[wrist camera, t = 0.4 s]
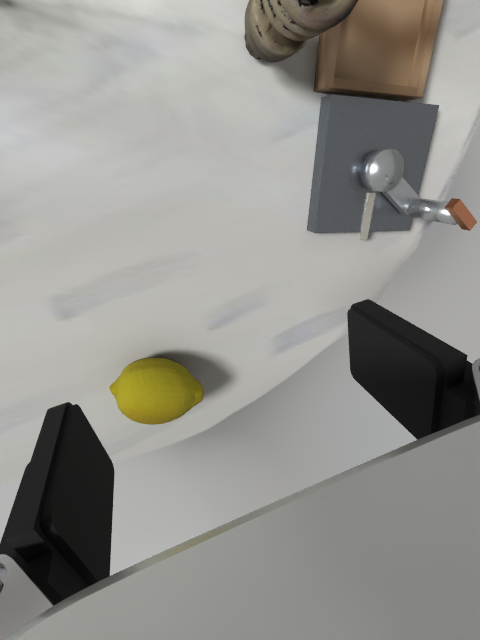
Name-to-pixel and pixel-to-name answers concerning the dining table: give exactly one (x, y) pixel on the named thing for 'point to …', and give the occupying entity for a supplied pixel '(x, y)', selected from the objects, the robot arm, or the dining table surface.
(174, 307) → the dining table surface
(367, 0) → the tray
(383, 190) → the crank
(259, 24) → the light bulb
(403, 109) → the crank base
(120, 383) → the lemon
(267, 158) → the dining table surface
